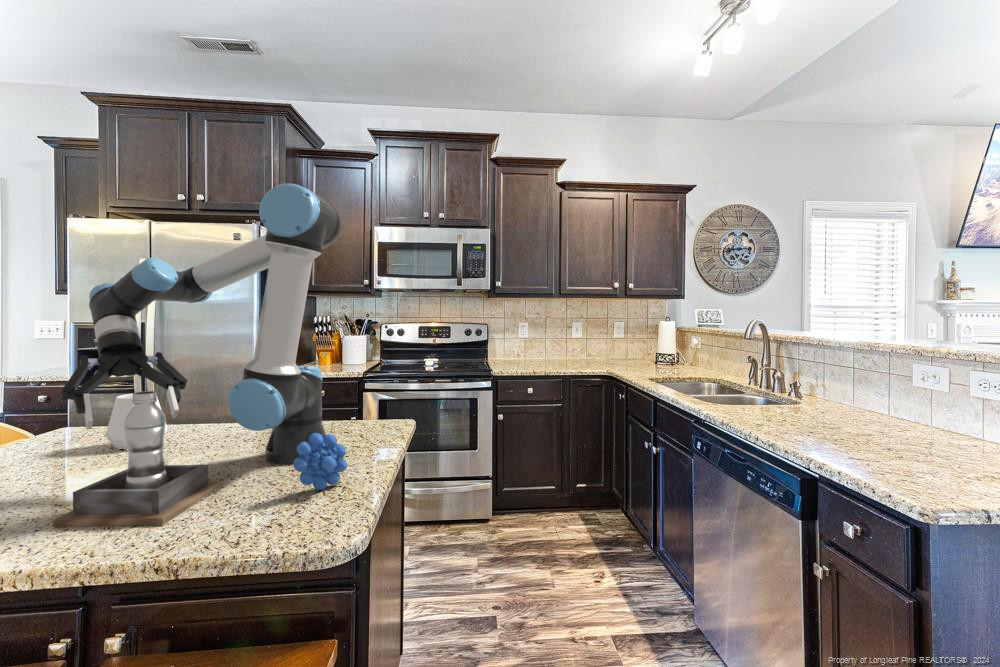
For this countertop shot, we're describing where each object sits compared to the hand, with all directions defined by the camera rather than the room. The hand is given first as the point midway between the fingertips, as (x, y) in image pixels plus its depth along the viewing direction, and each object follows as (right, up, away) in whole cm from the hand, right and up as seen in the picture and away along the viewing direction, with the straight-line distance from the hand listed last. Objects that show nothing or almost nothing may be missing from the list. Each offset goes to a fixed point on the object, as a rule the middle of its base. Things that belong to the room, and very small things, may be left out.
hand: (135, 419), depth 92 cm
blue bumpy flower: (+37, -15, +2) cm, 40 cm away
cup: (-28, -14, +36) cm, 47 cm away
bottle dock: (+6, -15, -5) cm, 17 cm away
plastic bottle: (+6, -14, -5) cm, 16 cm away
